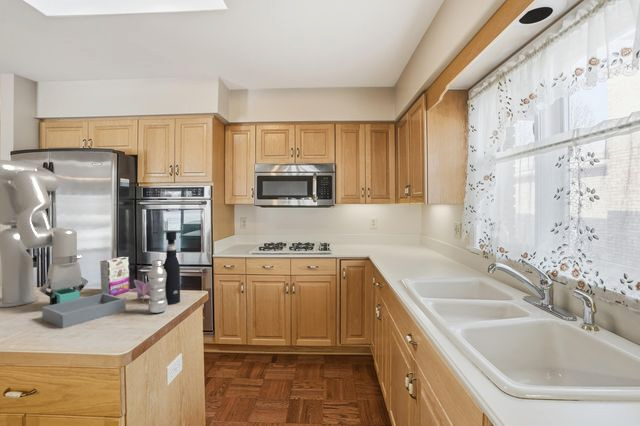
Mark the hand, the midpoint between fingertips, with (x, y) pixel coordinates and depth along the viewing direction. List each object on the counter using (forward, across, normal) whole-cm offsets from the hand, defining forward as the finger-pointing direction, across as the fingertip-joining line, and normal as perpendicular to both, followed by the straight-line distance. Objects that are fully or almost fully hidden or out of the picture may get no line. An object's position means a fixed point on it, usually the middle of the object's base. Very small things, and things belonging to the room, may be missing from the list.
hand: (65, 303), depth 121 cm
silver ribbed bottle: (+1, -15, +38) cm, 41 cm away
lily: (+1, -21, +19) cm, 29 cm away
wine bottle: (+1, -25, +32) cm, 40 cm away
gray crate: (+1, 0, +17) cm, 17 cm away
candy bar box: (+2, -20, -2) cm, 20 cm away
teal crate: (+1, 0, 0) cm, 1 cm away
